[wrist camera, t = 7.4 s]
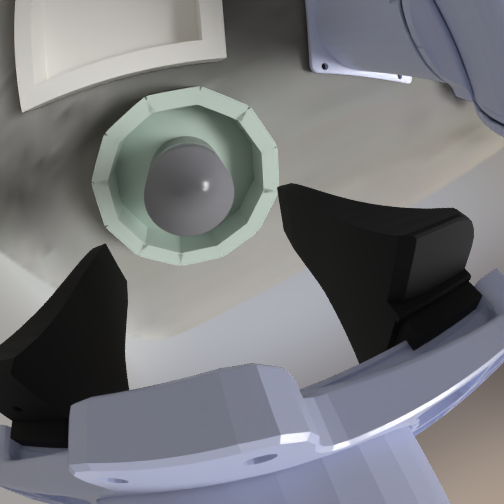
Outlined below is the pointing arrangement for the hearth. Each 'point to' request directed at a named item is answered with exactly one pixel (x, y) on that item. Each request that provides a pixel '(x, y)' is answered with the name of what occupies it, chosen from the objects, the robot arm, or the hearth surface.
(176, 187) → the grey short cylinder
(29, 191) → the hearth surface
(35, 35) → the parts tray
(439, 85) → the hearth surface
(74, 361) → the robot arm
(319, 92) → the hearth surface
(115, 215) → the sage bowl
